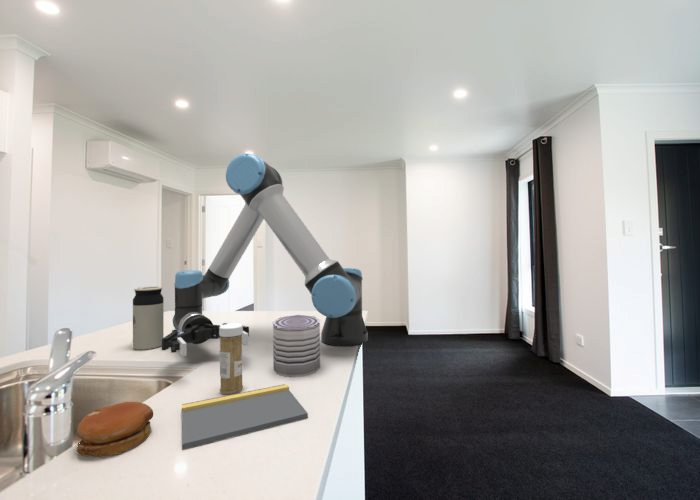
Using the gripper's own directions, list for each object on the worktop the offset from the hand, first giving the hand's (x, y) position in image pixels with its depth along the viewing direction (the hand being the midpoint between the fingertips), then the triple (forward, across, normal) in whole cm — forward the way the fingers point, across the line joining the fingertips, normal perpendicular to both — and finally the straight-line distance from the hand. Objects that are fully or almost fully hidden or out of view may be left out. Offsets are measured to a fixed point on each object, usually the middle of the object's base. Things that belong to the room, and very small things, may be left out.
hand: (217, 344), depth 74 cm
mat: (+20, +1, -8) cm, 22 cm away
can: (+6, -17, -8) cm, 20 cm away
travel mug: (-39, +10, -8) cm, 41 cm away
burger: (+16, +19, -8) cm, 26 cm away
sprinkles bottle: (+9, 0, -8) cm, 12 cm away
